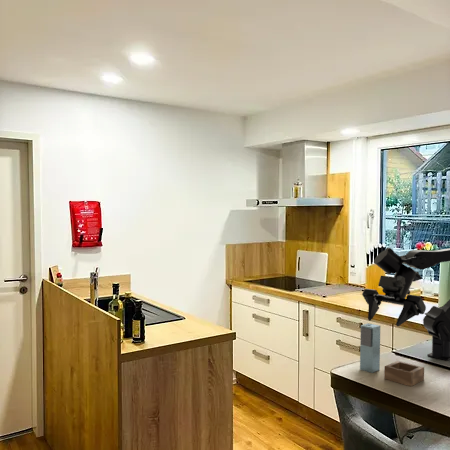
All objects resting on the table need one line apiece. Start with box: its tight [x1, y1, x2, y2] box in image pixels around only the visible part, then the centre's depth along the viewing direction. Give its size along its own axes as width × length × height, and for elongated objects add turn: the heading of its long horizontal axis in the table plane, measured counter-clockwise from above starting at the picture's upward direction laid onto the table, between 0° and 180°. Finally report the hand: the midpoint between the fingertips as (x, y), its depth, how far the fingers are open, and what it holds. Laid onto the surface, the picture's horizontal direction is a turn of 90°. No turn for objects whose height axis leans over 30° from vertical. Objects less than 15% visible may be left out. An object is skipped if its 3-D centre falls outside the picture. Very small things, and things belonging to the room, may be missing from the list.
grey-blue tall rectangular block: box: [359, 323, 381, 374], centre depth 135 cm, size 4×4×13 cm
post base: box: [383, 360, 425, 387], centre depth 128 cm, size 8×8×4 cm
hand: (382, 322), depth 140 cm, fingers open, 9 cm apart
